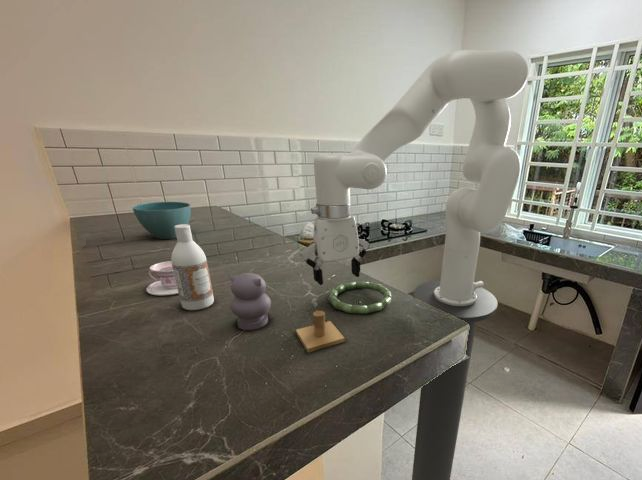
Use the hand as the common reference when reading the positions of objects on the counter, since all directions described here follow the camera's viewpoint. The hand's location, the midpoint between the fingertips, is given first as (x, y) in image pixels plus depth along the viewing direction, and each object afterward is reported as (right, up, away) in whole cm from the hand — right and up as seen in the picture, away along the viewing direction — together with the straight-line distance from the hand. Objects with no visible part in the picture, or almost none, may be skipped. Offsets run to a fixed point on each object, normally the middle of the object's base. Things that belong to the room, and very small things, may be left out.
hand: (338, 278), depth 81 cm
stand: (-2, -13, -11) cm, 17 cm away
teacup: (-46, -2, +8) cm, 47 cm away
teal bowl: (-77, +16, +48) cm, 92 cm away
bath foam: (-35, -7, -1) cm, 35 cm away
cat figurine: (-18, -10, -7) cm, 22 cm away
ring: (+5, -5, +6) cm, 9 cm away
